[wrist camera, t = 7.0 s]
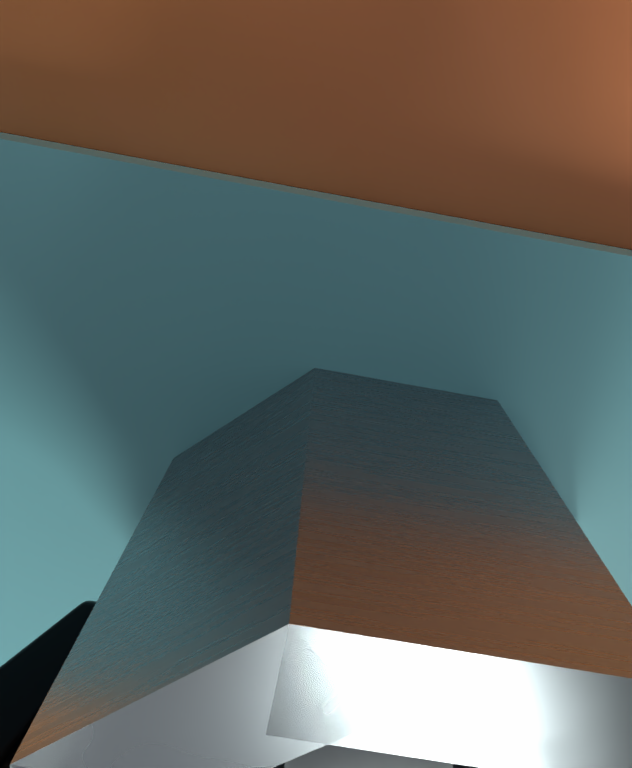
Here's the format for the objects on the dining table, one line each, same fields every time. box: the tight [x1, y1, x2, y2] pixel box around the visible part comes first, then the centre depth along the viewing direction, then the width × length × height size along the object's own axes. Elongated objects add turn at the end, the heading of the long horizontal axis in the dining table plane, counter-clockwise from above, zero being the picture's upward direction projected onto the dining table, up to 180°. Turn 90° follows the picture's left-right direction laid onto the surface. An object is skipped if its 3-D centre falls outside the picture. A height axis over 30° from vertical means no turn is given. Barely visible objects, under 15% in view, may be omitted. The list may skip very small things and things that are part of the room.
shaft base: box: [0, 132, 632, 768], centre depth 9 cm, size 12×20×5 cm, turn 80°
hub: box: [10, 368, 632, 768], centre depth 8 cm, size 7×7×5 cm
